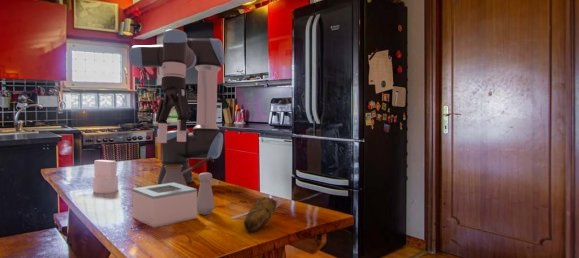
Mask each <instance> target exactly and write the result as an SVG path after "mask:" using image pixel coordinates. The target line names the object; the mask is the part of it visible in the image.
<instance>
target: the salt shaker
mask: <svg viewBox="0 0 579 258" xmlns="http://www.w3.org/2000/svg"><path fill="white" fill-rule="evenodd" d="M198 180H199V188H198V192H197V213H198V214H199V215H203V216H204V215H205V216H206V215H211V214H213V210H214V209H215V207H216V205H215V201H214V200H215V199H214V195H213V190H212V182H211V181H212V180H213V174H212V173H211V172H207V171H206V172H205V171H204V172H201V173H199V174H198Z"/></svg>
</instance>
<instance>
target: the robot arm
mask: <svg viewBox="0 0 579 258" xmlns="http://www.w3.org/2000/svg"><path fill="white" fill-rule="evenodd" d="M128 54H129V55H128V56H129V62H130V64H131V65H132V66H133V67H135V68H161V76H162V77H161V89H162V90H165V93H161V94H160V96H159V97H160V99H159V103H158V107H157V111H156V116H155V123H157V124H158V128H157V131H158V132H157V135H158V136H157V143H159V144H161V145H160V147H161V166H160V169H159V173H158V176H157V184H158V185H160V184H161V183H162V181H163V178H164V176H165V174H166V169H165V168H164V166H166V165H182V166H183V167H182V168H181V172H183V171H185V170H187V169H189V168H191V167H190V162H189V161H190V159H191V160H192V159H194V160H195V159H197V160H206V159H208V158H210V157H212V158H213V159H218V158H219V157H220V156H221V154H222V149H223V147H224V146H223V145H224V134H223V133H222V132H220V128H219V127H218V126H217V113H218V112H217V111H218V110H217V109H218V108H217V107H218V106H217V105H218V104H217V103H218V74H219V72H220V71H221V70H222V66H224V65H225V64H226V59H225V57H226V56H225V49H224V45H223V42H222V40H220V39H219V38H212V37H210V38H191V37H190V38H188V36H187V33H186V32H185V31H183V30H180V29H176V28H175V29H172V28H171V29H167V30H165V31H164V32H163V37H162V43H160V44H159V43H158V44H151V45H150V44H149V45H140V44H139V45H133V46H131V47H130V49H129V53H128ZM192 68H194V69H195V70H196V71H197V95H196V96H197V97H196V98H197V100H196V101H197V102H196V104H197V105H196V125H195V126H194V127H193V128H192V132H190V130H189V129H188V128H187V121H189V119H191V117H192V115H191V111H190V109H191V108H190V105H189V101H188V95H187V94H188V93H187V90H186V76H187V75H186V74H187V71H189V70H191V69H192ZM173 108H174V109H175V112H176V114H177V119H176V120H177V124H176V125H177V126H176V127H177V129H176V130H170V131H168V121H167V120H168V118H169V116H170V113H171V110H172V109H173ZM213 159H212V160H213ZM183 177H184V179H185V182H186V184H187V185H188V184H190V183H193V181H194V178H193V174H192V169H191V170H190V171H188V172H186V173H184V174H183Z"/></svg>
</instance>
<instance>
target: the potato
mask: <svg viewBox="0 0 579 258" xmlns="http://www.w3.org/2000/svg"><path fill="white" fill-rule="evenodd" d="M276 204H277V203H276V200H274V198H271V197H269V196H268V197H266V196H264V197H260V198H257V200H256V202H255V203H254V204H253V206H252V207H251V208H250V210H249V211H248V212H249V213H248V214H247V215H245V216H244V217H245V218H244V220H243V226H244V228H245V230H246V231H247V232H249V233H253V232H256V231H257V230H259V229H260V228H261V227H264V225H266V224H267V223H268V221H270V219H271V218H272V217H273V216H274V215H275V213H276V212H277V208H276V207H277V206H276Z"/></svg>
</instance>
